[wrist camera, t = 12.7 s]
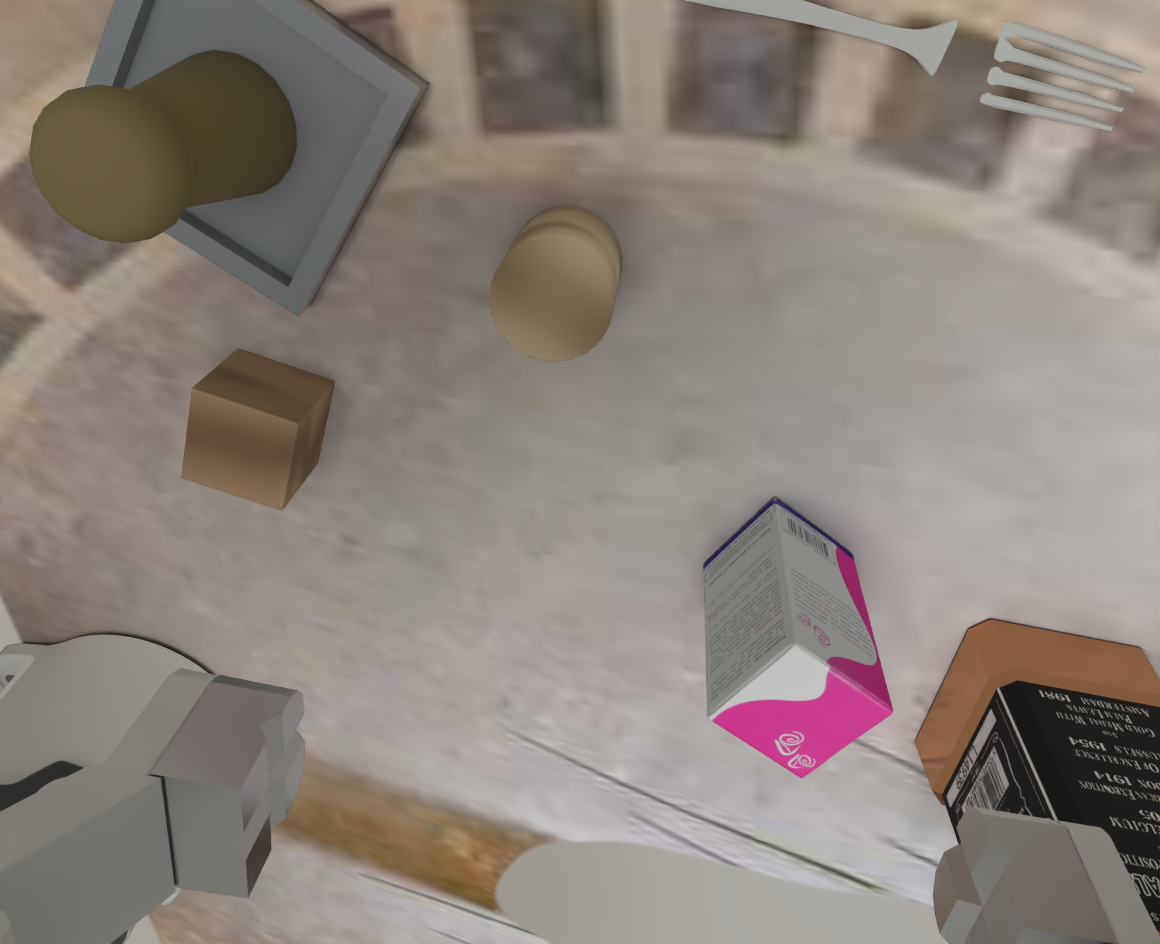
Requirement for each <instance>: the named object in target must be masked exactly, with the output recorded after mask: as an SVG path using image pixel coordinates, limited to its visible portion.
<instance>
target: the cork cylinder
mask: <svg viewBox="0 0 1160 944" xmlns="http://www.w3.org/2000/svg"><path fill="white" fill-rule="evenodd" d="M621 268H622V255H621V250H620V246H619V243H618V240H617V238H616V236H615V234H614V233H613V231H612V230H611V228H610V227H609V226H608V225H607V224H606V223H605V222H604V221H603V220H602V219H601V218H600V217H598V216H597V215H595V214H593V213H592V212H590V211H587V210H585V209H582V208H578V207H572V206H560V207H554V208H550V209H547V210H545V211H542V212H541V213H539V214H537V215H536V216H534V217H533V218H532V219H531V220H530V221H529V222H528V223H527V224H526V225H525V226H524V227H523V229H522V230H521V232H520V233H519V235H518V237H517V238H516V240H515V242H514V243H513V245H512V246H511V248H510V250H509V251H508V253H507V255H506V256H505V258H504V259H503V261H502V263H501V264H500V266H499V268H498V269H497V271H496V273H495V275H494V278H493V280H492V283H491V288H490V297H489V299H490V309H491V314H492V317H493V320H494V322H495V324H496V327H497V328H498V330H499V332H500V333H501V335H502V336H503V337H504V338H505V340H506V341H507V342H508V343H509V344H510V345H512V346H513V347H514V348H515V349H517V350H518V351H520V352H521V353H523V354H525V355H527V356H530V357H532V358H535V359H539V360H543V361H555V362H556V361H565V360H570V359H573V358H576V357H579V356H581V355H583V354H585V353H586V352H588V351H589V350H591V349H592V348H593V347H594V346H595V345H596V344H597V343H598V342H599V341H600V340H601V339H602V337H603V336H604V334H605V333H606V331H607V329H608V327H609V324H610V321H611V318H612V313H613V309H614V304H615V299H616V294H617V289H618V284H619V279H620V275H621Z"/></svg>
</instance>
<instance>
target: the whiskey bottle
mask: <svg viewBox="0 0 1160 944" xmlns="http://www.w3.org/2000/svg"><path fill="white" fill-rule="evenodd" d="M915 745H916V748H917V750H918V753H919V756H920V759H921V761H922V764H923V767H924V770H925V772H926V775H927V778H928V781H929V783H930V786H931V789H932V791H933V792H934V794H935V795H936V797H937V798H938V800H939V801H940V803H941V804H942V805H945V806H946V808H947V811H948V814H949V817H950V820H951V823H952V826H953V829H954V832H955V835H956V838H957V841H958V844H960V843H961V841H960V837H959V834H958V831H957V828H956V827H957V825H958V824H959V822H960V820H961V818H962V816H963V814H964V813H965V812H966V811H967V810H969V809H970V808H971V807H978V808H984V809H990V810H996V811H1002V812H1008V813H1015V814H1021V815H1027V816H1033V817H1039V818H1045V819H1051V820H1053V821H1063V822H1069V823H1076V824H1082V825H1088V826H1094V827H1100V828H1102V829H1103V830H1104V831H1105V832H1106V833H1107V834H1108V835H1109V836H1110V838H1111V839H1112V841H1113V843H1114V845H1115V847H1116V849H1117V851H1118V853H1119V855H1120V857H1121V859H1122V861H1123V863H1124V865H1125V867H1126V869H1127V871H1128V873H1129V875H1130V877H1131V879H1132V881H1133V884H1134V886H1135V888H1136V890H1137V892H1138V894H1139V896H1140V898H1141V900H1142V902H1143V904H1144V906H1145V908H1146V910H1147V912H1148V914H1149V916H1150V918H1151V920H1152V922H1153V924H1154V926H1155V928H1156V930H1157V932H1158V934H1159V936H1160V679H1159V678H1158V676H1157V674H1156V673H1155V671H1154V669H1153V667H1152V666H1151V664H1150V662H1149V661H1148V659H1147V657H1146V655H1145V654H1144V652H1143V650H1142V648H1137V647H1132V646H1127V645H1121V644H1116V643H1111V642H1106V641H1101V640H1095V639H1090V638H1085V637H1080V636H1075V635H1069V634H1064V633H1059V632H1054V631H1049V630H1043V629H1038V628H1033V627H1028V626H1023V625H1017V624H1012V623H1007V622H1002V621H997V620H991V619H990V620H988V621H986V622H984V623H981V624H979V625H977V626H975V627H973V628H970V629H968V631H967V633H966V635H965V638H964V640H963V642H962V644H961V646H960V648H959V650H958V652H957V654H956V657H955V659H954V661H953V663H952V665H951V667H950V669H949V671H948V673H947V675H946V678H945V680H944V682H943V684H942V686H941V688H940V690H939V692H938V694H937V696H936V699H935V701H934V703H933V705H932V707H931V709H930V711H929V713H928V715H927V717H926V720H925V722H924V724H923V726H922V728H921V730H920V732H919V734H918V736H917V739H916V741H915Z"/></svg>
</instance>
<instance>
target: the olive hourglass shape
mask: <svg viewBox="0 0 1160 944" xmlns="http://www.w3.org/2000/svg"><path fill="white" fill-rule="evenodd" d="M296 149H297V129H296V122H295V118H294V115H293V112H292V109H291V106H290V103H289V100H288V99H287V97H286V96H285V94H284V93H283V91H282V89H281V88H280V86H279V85H278V83H277V82H276V80H275V79H274V78H273V77H272V76H270V75H269V74H268V73H267V72H266V71H265V70H264V69H263V68H262V67H261V66H260V65H259V64H257V63H255V62H253V61H251V60H249V59H247V58H245V57H243V56H241V55H239V54H237V53H234V52H227V51H220V50H210V51H205V52H201V53H196V54H193V55H191V56H189V57H187V58H186V59H184V60H182V61H180V62H178V63H176V64H174V65H173V66H171V67H169V68H167V69H165V70H163V71H161V72H160V73H158V74H156V75H154V76H152V77H150V78H149V79H147V80H145V81H143V82H141V83H139V84H137V85H136V86H134V87H132V88H130V89H124V88H120V87H113V86H106V85H100V84H98V85H92V86H86V87H82V88H77V89H72V90H68V91H66V92H65V93H63V94H62V95H60V96H59V97H58V98H56V99H55V100H54V101H52V102H51V103H50V104H48V105H47V106H46V107H45V108H43V110H42V112H41V114H40V115H39V117H38V119H37V120H36V122H35V124H34V126H33V131H32V138H31V144H30V152H29V153H30V159H31V166H32V172H33V175H34V178H35V180H36V182H37V184H38V186H39V189H40V191H41V193H42V195H43V196H44V197H45V199H46V200H47V201H48V203H49V204H50V205H51V206H52V208H53V209H54V210H55V212H56V213H57V214H59V215H60V216H61V217H62V218H64V219H65V220H66V221H67V222H69V223H70V224H71V225H72V226H74V227H75V228H77V229H79V230H81V231H83V232H85V233H87V234H89V235H91V236H93V237H96V238H98V239H100V240H106V241H113V242H119V243H130V242H136V241H142V240H147V239H151V238H153V237H155V236H157V235H159V234H160V233H162V232H163V231H165V230H167V229H168V228H170V227H171V226H173V225H175V224H176V222H177V221H178V219H179V218H180V217H181V215H182V214H183V212H184V211H185V209H186V208H189V207H194V206H199V205H204V204H209V203H214V202H219V201H225V200H230V199H235V198H240V197H245V196H250V195H256V194H261V193H264V192H266V191H267V190H269V189H270V188H272V187H274V186H275V185H277V184H279V183H280V181H281V180H282V179H283V177H284V176H285V175H286V173H287V172H288V171H289V169H290V168H291V166H292V162H293V159H294V156H295V152H296Z"/></svg>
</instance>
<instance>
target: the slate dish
mask: <svg viewBox="0 0 1160 944" xmlns="http://www.w3.org/2000/svg"><path fill="white" fill-rule="evenodd" d="M210 50H220V51H227V52H234V53H237V54H239V55H241V56H243V57H245V58H247V59H249V60H251V61H253V62H255V63H257V64H259V65H260V66H261V67H262V68H263V69H264V70H265V71H266V72H267V73H268V74H269V75H270V76H272V77H273V78H274V79H275V80H276V82H277V83H278V85H279V86H280V88H281V89H282V91H283V93H284V94H285V96H286V97H287V99H288V100H289V103H290V106H291V109H292V112H293V115H294V118H295V122H296V129H297V149H296V152H295V156H294V159H293V162H292V166H291V168H290V169H289V171H288V172H287V173H286V175H285V176H284V177H283V179H282V180H281V181H280V183H279V184H277V185H275V186H274V187H272V188H270V189H269V190H267V191H266V192H264V193H261V194H256V195H250V196H245V197H240V198H235V199H230V200H225V201H219V202H214V203H209V204H204V205H199V206H194V207H189V208H186V209H185V211H184V212H183V214H182V215H181V217H180V218H179V219H178V221H177V222H176V224H175V225H173V226H171V227H170V228H168V229H167V230H165V231H164V232H165V233H167V234H168V235H170V236H172V237H173V238H175V239H176V240H178V241H180V242H181V243H183V244H184V245H186V246H188V247H189V248H191V249H192V250H194V251H195V252H197V253H199V254H200V255H202V256H203V257H205V258H207V259H208V260H210V261H211V262H213V263H215V264H216V265H218V266H219V267H221V268H222V269H224V270H226V271H227V272H229V273H230V274H232V275H234V276H235V277H237V278H238V279H240V280H241V281H243V282H245V283H246V284H248V285H249V286H251V287H253V288H254V289H256V290H257V291H259V292H261V293H262V294H264V295H265V296H267V297H268V298H270V299H272V300H273V301H275V302H276V303H278V304H280V305H281V306H283V307H284V308H286V309H288V310H289V311H291V312H292V313H294V314H295V315H297V316H300V315H301V314H302V313H303V312H304V311H305V310H306V309H307V308H309V307H310V306H311V304H312V302H313V300H314V299H315V297H316V295H317V293H318V291H319V289H320V287H321V285H322V284H323V282H324V280H325V278H326V276H327V274H328V272H329V271H330V269H331V267H332V265H333V263H334V261H335V259H336V257H337V256H338V254H339V252H340V250H341V248H342V246H343V244H344V243H345V241H346V239H347V237H348V235H349V233H350V231H351V229H352V228H353V226H354V224H355V222H356V220H357V218H358V216H359V215H360V213H361V211H362V209H363V207H364V205H365V203H366V201H367V200H368V198H369V196H370V194H371V192H372V190H373V188H374V187H375V185H376V183H377V181H378V179H379V177H380V175H381V174H382V172H383V170H384V168H385V166H386V164H387V162H388V160H389V159H390V157H391V155H392V153H393V151H394V149H395V147H396V146H397V144H398V142H399V140H400V138H401V136H402V134H403V132H404V131H405V129H406V127H407V125H408V123H409V121H410V119H411V118H412V116H413V114H414V112H415V110H416V108H417V106H418V104H419V103H420V101H421V99H422V97H423V95H424V93H425V91H426V90H427V88H428V86H429V84H430V83H428V82H427V81H425V80H424V79H423V78H421V77H420V76H418V75H417V74H415V73H414V72H413V71H411V70H410V69H408V68H407V67H406V66H404V65H403V64H401V63H400V62H399V61H397V60H396V59H394V58H393V57H391V56H390V55H389V54H387V53H386V52H384V51H383V50H382V49H380V48H379V47H377V46H376V45H375V44H373V43H372V42H370V41H369V40H367V39H366V38H365V37H363V36H362V35H360V34H359V33H358V32H356V31H355V30H353V29H352V28H350V27H349V26H348V25H346V24H345V23H343V22H342V21H341V20H339V19H338V18H336V17H335V16H334V15H332V14H331V13H329V12H328V11H326V10H325V9H324V8H322V7H321V6H319V5H318V4H317V3H315V2H314V1H312V0H115V1H114V3H113V6H112V9H111V12H110V15H109V18H108V21H107V24H106V27H105V29H104V32H103V35H102V38H101V41H100V44H99V47H98V50H97V52H96V55H95V58H94V61H93V64H92V67H91V70H90V73H89V76H88V78H87V81H86V84H85V87H86V86H92V85H98V84H100V85H106V86H113V87H120V88H124V89H130V88H132V87H134V86H136V85H137V84H139V83H141V82H143V81H145V80H147V79H149V78H150V77H152V76H154V75H156V74H158V73H160V72H161V71H163V70H165V69H167V68H169V67H171V66H173V65H174V64H176V63H178V62H180V61H182V60H184V59H186V58H187V57H189V56H191V55H193V54H196V53H201V52H205V51H210Z"/></svg>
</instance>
